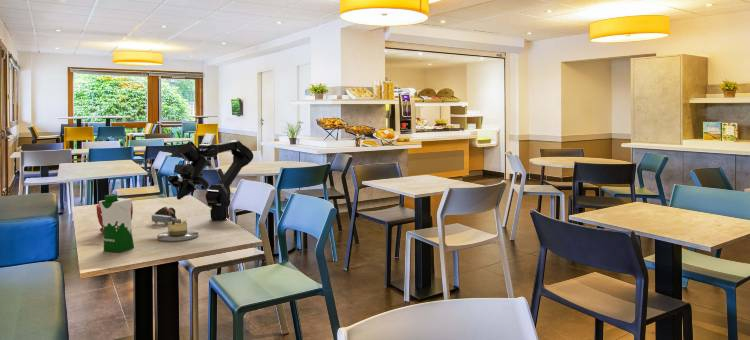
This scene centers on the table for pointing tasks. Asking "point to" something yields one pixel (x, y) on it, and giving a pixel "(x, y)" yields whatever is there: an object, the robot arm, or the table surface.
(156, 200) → the table surface
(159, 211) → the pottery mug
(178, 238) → the spindle flange
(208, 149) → the robot arm
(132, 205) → the plant pot
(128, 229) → the milk carton
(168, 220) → the lever valve handle
